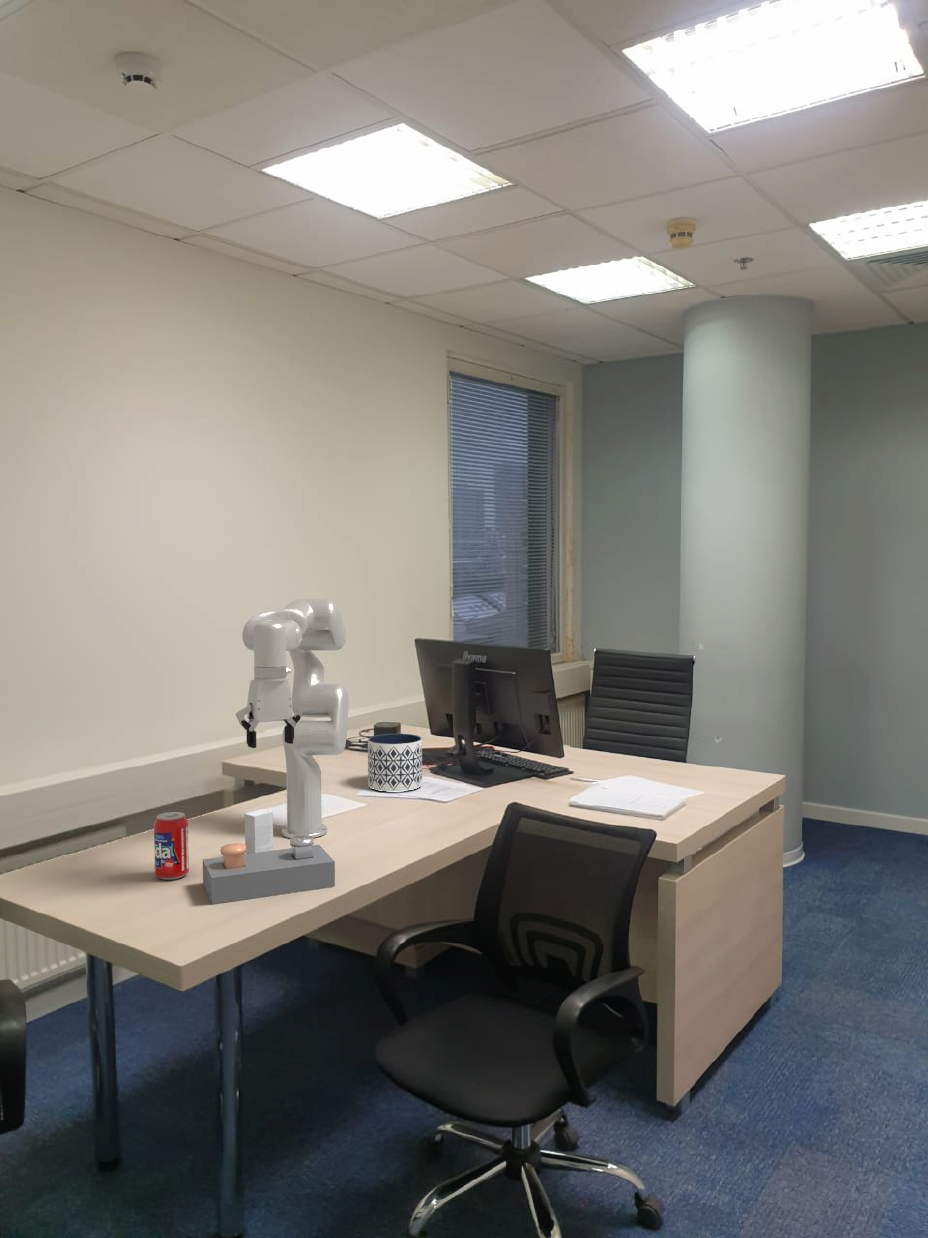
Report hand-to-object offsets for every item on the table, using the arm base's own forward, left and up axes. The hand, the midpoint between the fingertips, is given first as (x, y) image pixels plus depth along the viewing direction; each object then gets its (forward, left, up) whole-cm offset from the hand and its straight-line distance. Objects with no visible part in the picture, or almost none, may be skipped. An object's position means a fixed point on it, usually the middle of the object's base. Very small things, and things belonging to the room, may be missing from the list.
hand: (270, 745), depth 223 cm
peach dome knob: (+6, -10, -28) cm, 30 cm away
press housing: (+6, -2, -32) cm, 33 cm away
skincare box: (-15, 0, -32) cm, 35 cm away
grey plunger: (+6, +6, -28) cm, 29 cm away
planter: (-72, +57, -32) cm, 97 cm away
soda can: (-10, -22, -32) cm, 40 cm away
